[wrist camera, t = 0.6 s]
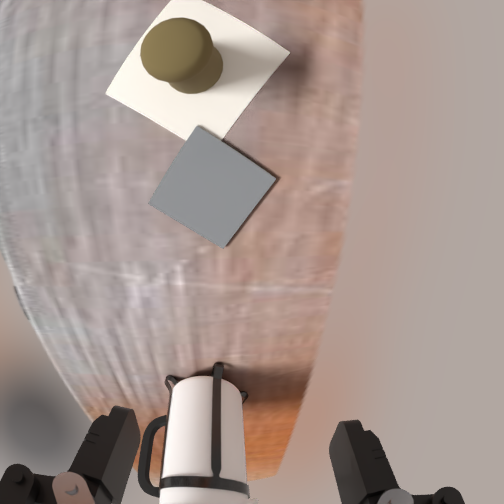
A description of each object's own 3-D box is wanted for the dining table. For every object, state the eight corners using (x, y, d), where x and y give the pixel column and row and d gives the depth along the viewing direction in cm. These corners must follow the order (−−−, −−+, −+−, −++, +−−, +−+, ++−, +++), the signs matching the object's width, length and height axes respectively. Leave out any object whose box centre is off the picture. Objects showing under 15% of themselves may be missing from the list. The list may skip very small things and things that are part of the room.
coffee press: (171, 346, 41) (147, 542, 15) (264, 373, 46) (286, 547, 19) (149, 398, 48) (129, 540, 22) (224, 418, 52) (229, 551, 26)
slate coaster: (149, 201, 31) (148, 203, 30) (197, 125, 27) (196, 125, 27) (223, 246, 34) (223, 248, 33) (275, 177, 30) (276, 178, 30)
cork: (229, 45, 23) (227, 11, 14) (215, 98, 26) (206, 92, 16) (171, 38, 22) (140, 5, 13) (158, 90, 25) (120, 83, 15)
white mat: (106, 93, 25) (105, 93, 24) (180, -9, 20) (180, -10, 20) (210, 155, 29) (210, 156, 29) (289, 53, 24) (290, 52, 24)
